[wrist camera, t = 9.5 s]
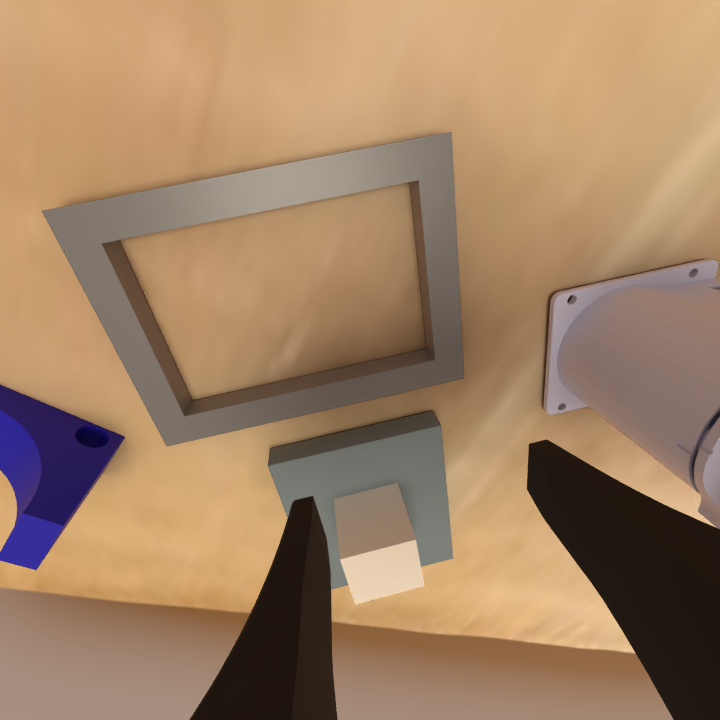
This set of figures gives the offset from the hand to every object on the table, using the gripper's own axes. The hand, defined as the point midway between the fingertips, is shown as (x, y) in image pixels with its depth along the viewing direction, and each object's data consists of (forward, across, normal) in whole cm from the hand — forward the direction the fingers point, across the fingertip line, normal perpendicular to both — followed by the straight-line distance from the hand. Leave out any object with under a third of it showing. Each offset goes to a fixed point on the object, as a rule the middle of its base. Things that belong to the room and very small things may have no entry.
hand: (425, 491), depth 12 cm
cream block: (+8, +2, +10) cm, 13 cm away
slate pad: (+9, +2, +10) cm, 14 cm away
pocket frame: (+9, +4, -4) cm, 11 cm away
